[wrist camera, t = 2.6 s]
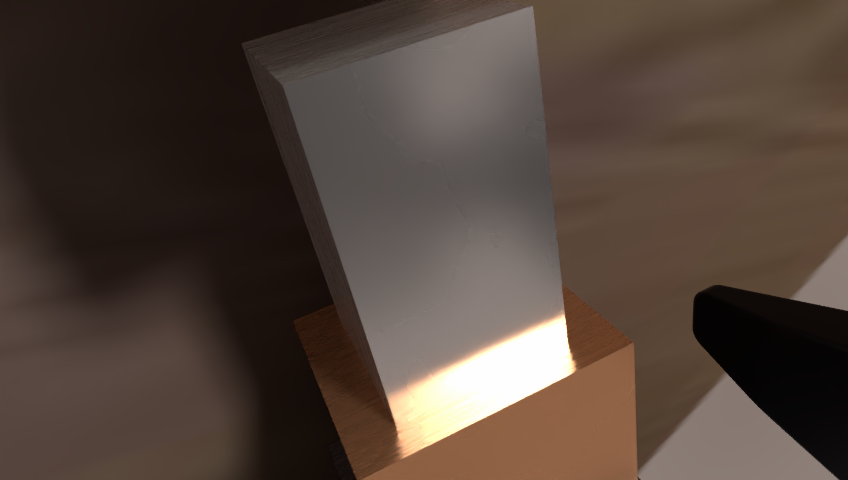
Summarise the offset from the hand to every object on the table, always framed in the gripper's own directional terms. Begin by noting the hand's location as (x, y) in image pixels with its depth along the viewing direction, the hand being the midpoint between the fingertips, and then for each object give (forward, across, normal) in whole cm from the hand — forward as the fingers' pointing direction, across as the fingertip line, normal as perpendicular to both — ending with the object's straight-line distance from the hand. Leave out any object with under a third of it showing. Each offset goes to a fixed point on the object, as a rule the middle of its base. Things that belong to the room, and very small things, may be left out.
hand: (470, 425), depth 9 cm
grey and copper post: (+2, 0, 0) cm, 2 cm away
